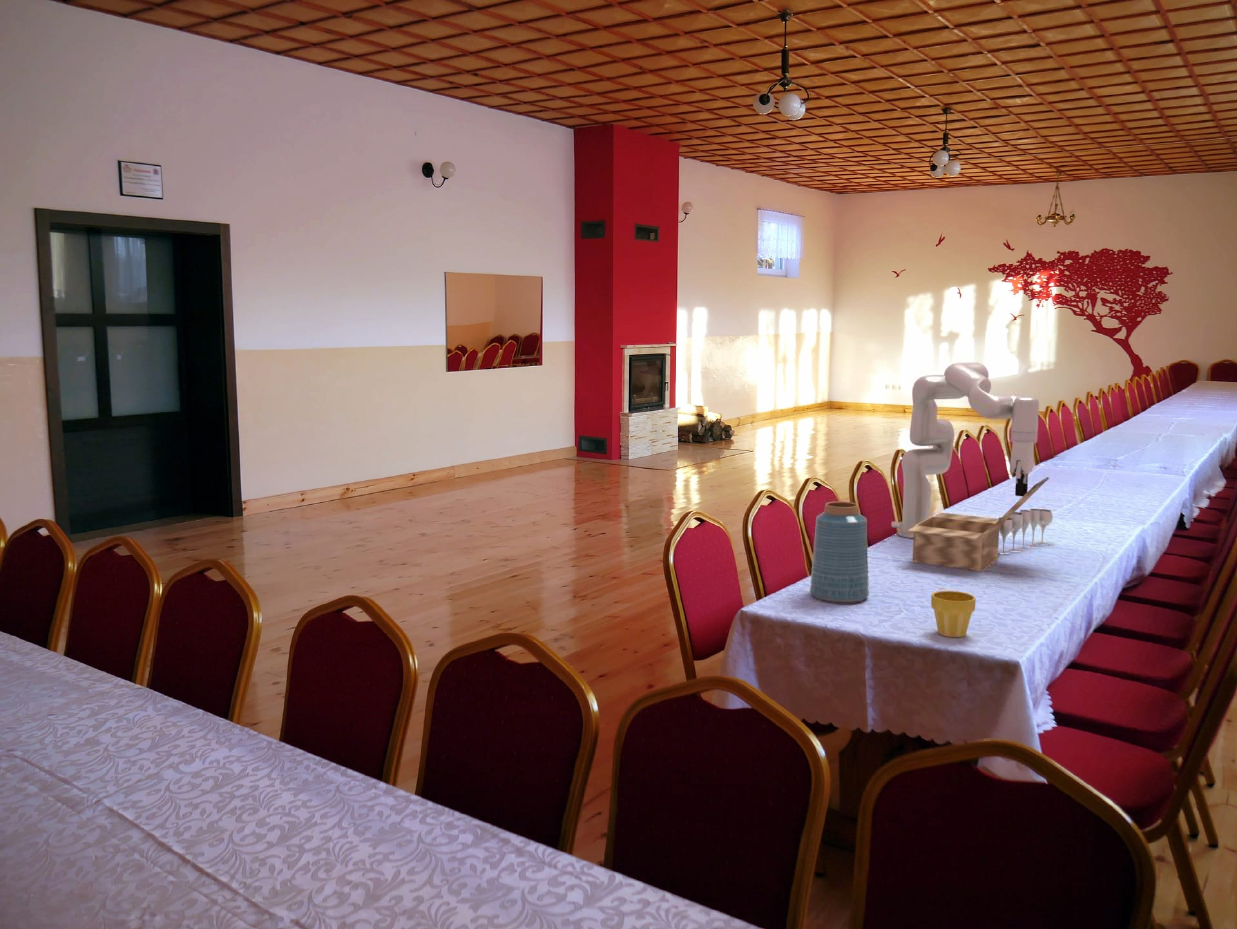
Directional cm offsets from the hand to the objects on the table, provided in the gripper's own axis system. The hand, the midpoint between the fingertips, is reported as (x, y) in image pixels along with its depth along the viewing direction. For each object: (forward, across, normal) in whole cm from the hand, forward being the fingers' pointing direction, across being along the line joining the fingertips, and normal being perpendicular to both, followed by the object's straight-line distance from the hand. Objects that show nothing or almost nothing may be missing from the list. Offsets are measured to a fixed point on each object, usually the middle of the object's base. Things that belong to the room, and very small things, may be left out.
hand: (1021, 495), depth 300 cm
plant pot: (+24, +75, +2) cm, 79 cm away
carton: (+23, 0, -19) cm, 30 cm away
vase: (+24, +60, -34) cm, 73 cm away
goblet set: (+24, -31, -5) cm, 39 cm away
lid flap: (+3, 0, -1) cm, 3 cm away
